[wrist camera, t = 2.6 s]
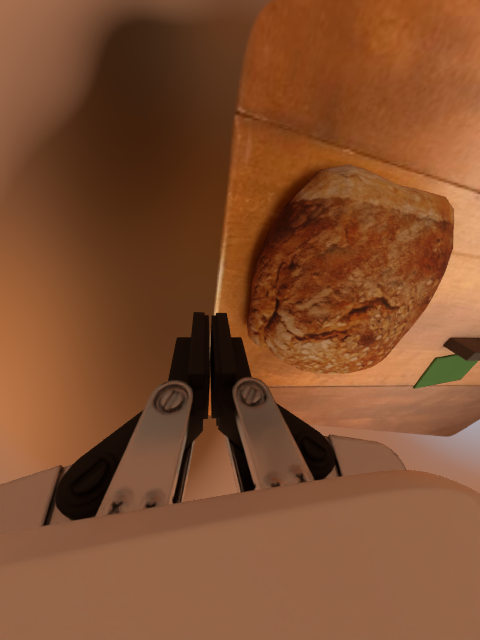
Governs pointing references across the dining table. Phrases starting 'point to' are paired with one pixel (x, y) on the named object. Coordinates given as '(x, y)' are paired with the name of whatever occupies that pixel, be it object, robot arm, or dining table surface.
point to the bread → (348, 270)
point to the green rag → (445, 370)
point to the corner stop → (465, 348)
